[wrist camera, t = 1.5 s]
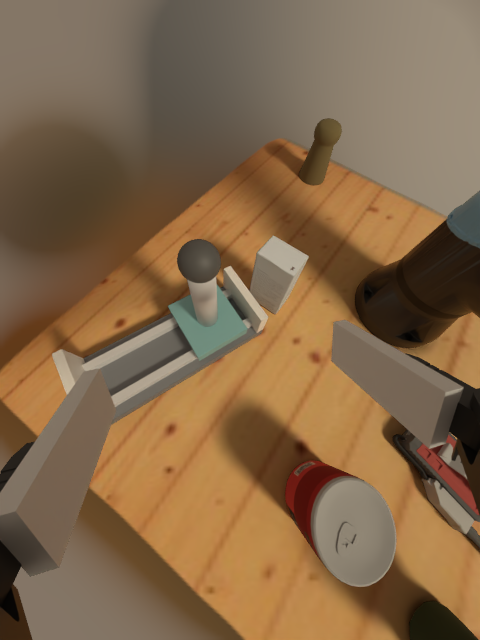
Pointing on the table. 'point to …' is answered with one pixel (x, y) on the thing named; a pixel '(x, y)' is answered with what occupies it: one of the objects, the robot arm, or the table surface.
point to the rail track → (158, 354)
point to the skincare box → (276, 273)
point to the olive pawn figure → (320, 152)
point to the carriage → (204, 301)
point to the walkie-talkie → (443, 481)
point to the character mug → (437, 624)
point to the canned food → (342, 522)
